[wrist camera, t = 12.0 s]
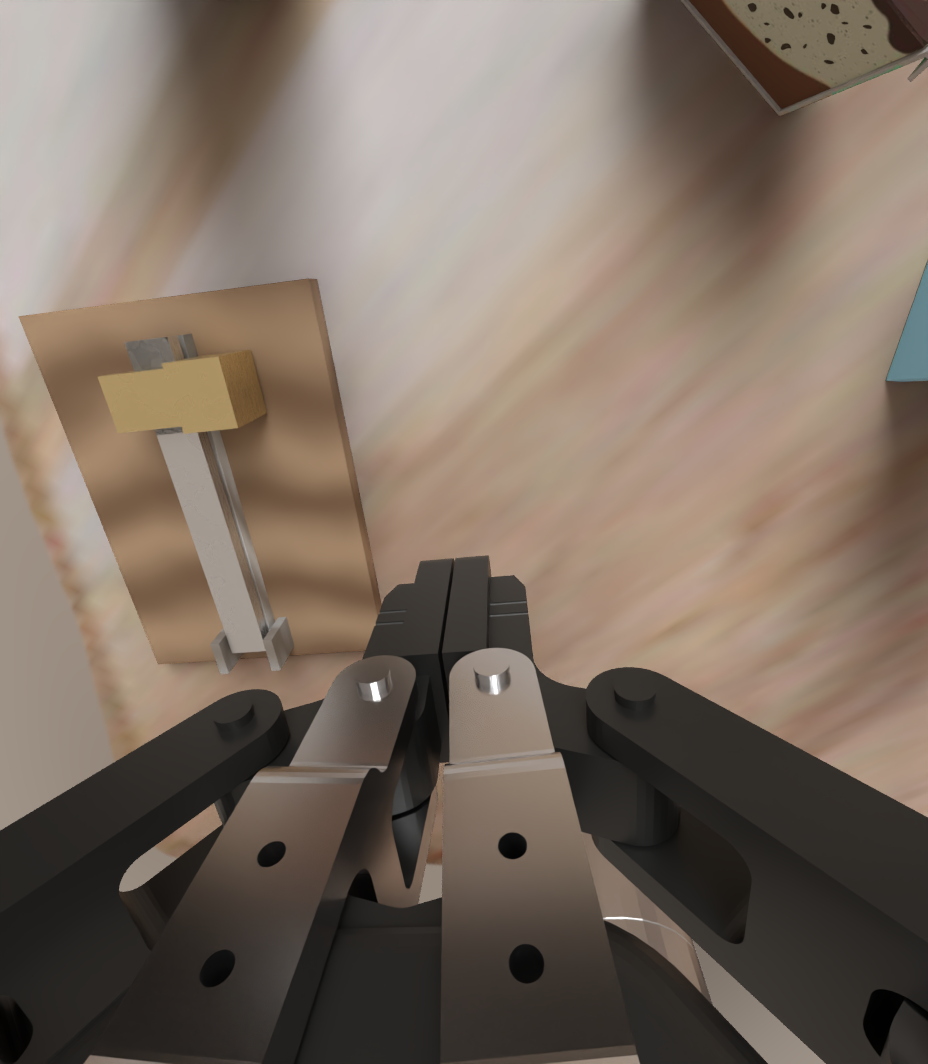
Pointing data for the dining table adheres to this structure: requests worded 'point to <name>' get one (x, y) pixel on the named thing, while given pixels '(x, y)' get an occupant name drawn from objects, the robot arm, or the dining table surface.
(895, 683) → the dining table surface
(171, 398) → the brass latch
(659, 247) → the dining table surface
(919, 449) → the dining table surface
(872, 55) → the food container
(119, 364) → the wooden board with rail
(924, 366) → the light blue flared block
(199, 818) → the dining table surface
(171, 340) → the tongs upper arm
